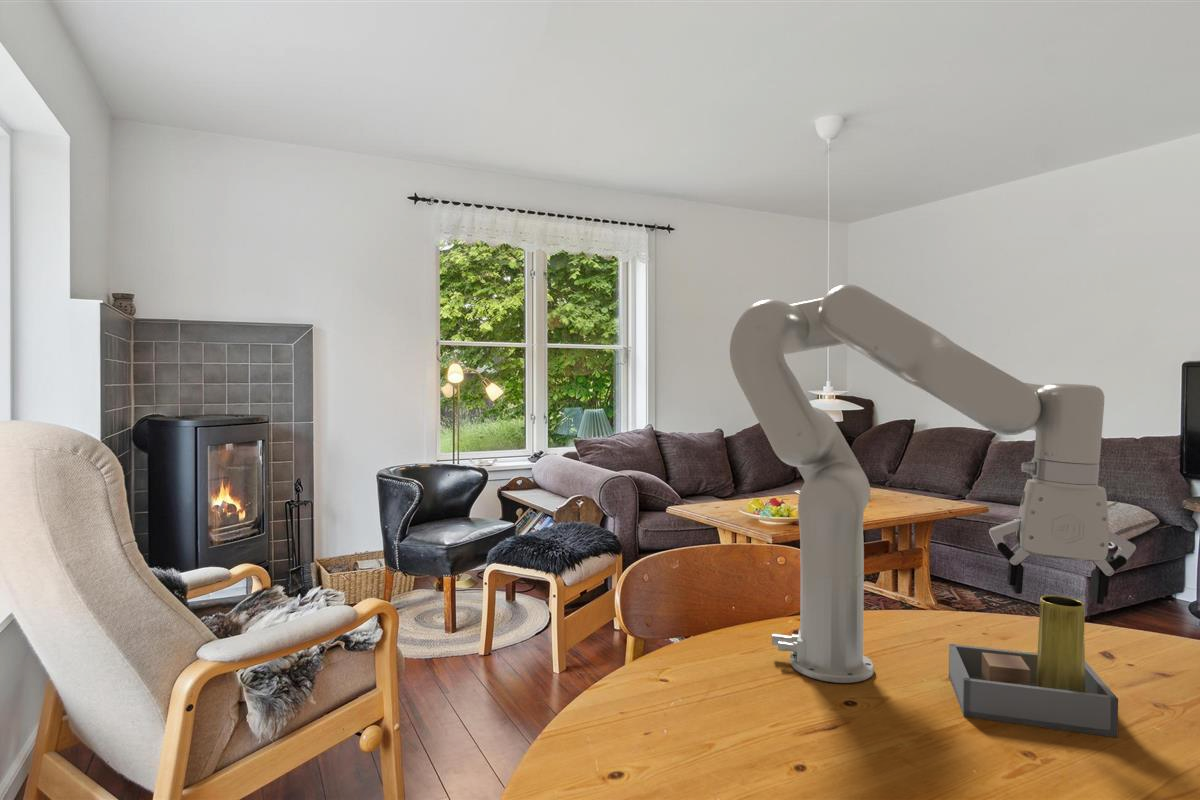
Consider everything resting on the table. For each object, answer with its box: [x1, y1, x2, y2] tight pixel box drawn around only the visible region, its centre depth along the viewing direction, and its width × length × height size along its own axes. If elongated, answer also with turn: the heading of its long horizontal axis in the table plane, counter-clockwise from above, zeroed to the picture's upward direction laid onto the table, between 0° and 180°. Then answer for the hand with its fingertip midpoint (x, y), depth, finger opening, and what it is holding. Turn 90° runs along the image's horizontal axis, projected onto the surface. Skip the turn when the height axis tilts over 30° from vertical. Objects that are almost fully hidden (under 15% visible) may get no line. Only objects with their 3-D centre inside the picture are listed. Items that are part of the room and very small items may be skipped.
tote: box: [948, 643, 1119, 738], centre depth 98 cm, size 18×14×5 cm
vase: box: [1036, 594, 1086, 693], centre depth 97 cm, size 6×6×14 cm
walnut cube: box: [981, 652, 1030, 686], centre depth 99 cm, size 5×5×5 cm
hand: (1055, 596), depth 97 cm, fingers open, 9 cm apart
